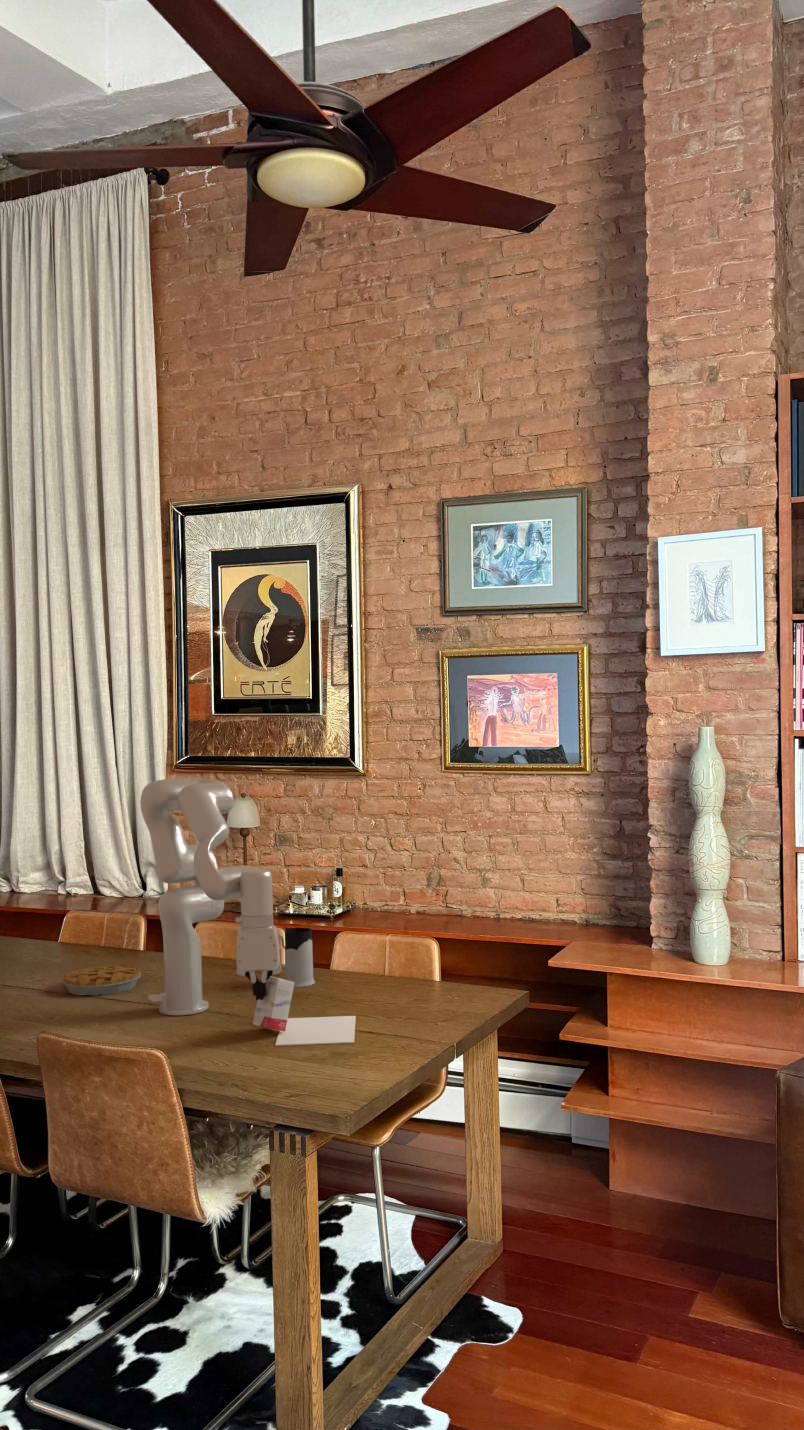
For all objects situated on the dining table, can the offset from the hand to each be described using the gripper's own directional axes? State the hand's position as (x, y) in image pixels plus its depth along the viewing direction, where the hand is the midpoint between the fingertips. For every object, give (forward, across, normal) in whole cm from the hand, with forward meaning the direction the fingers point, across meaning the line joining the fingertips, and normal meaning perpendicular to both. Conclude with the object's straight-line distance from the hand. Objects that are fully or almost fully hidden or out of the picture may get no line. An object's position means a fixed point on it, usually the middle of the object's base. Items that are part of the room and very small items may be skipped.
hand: (259, 998), depth 260 cm
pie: (+8, -51, +52) cm, 73 cm away
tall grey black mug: (+8, +3, +50) cm, 51 cm away
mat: (+8, +13, 0) cm, 16 cm away
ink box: (+7, +2, 0) cm, 8 cm away
